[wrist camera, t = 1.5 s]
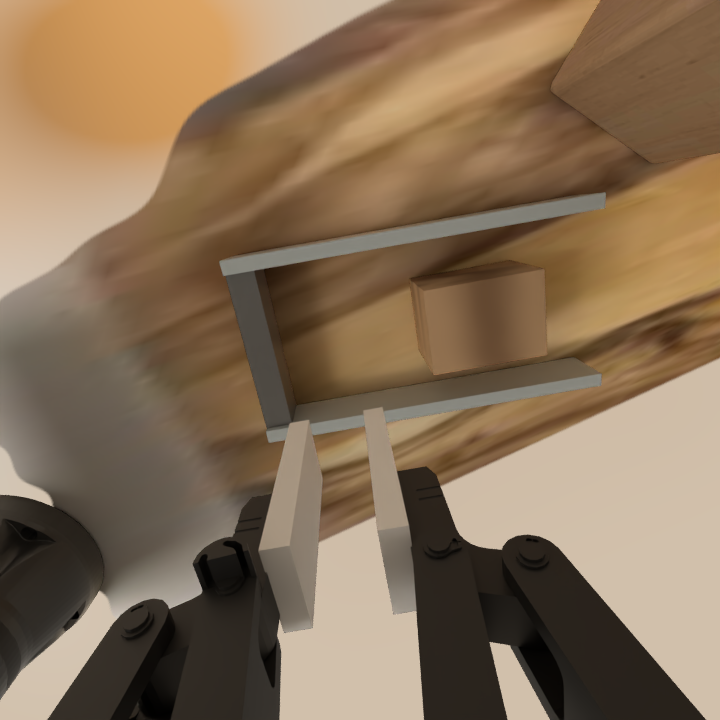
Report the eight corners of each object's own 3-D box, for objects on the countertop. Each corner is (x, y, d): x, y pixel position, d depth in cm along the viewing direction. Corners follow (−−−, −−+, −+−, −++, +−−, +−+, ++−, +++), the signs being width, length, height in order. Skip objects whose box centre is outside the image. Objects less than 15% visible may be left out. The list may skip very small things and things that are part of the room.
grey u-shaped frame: (276, 419, 36) (268, 442, 32) (233, 256, 32) (219, 261, 28) (573, 367, 36) (601, 385, 32) (573, 195, 31) (605, 192, 28)
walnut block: (418, 350, 35) (434, 375, 29) (409, 278, 33) (423, 291, 27) (513, 332, 35) (547, 355, 29) (509, 260, 33) (544, 268, 27)
